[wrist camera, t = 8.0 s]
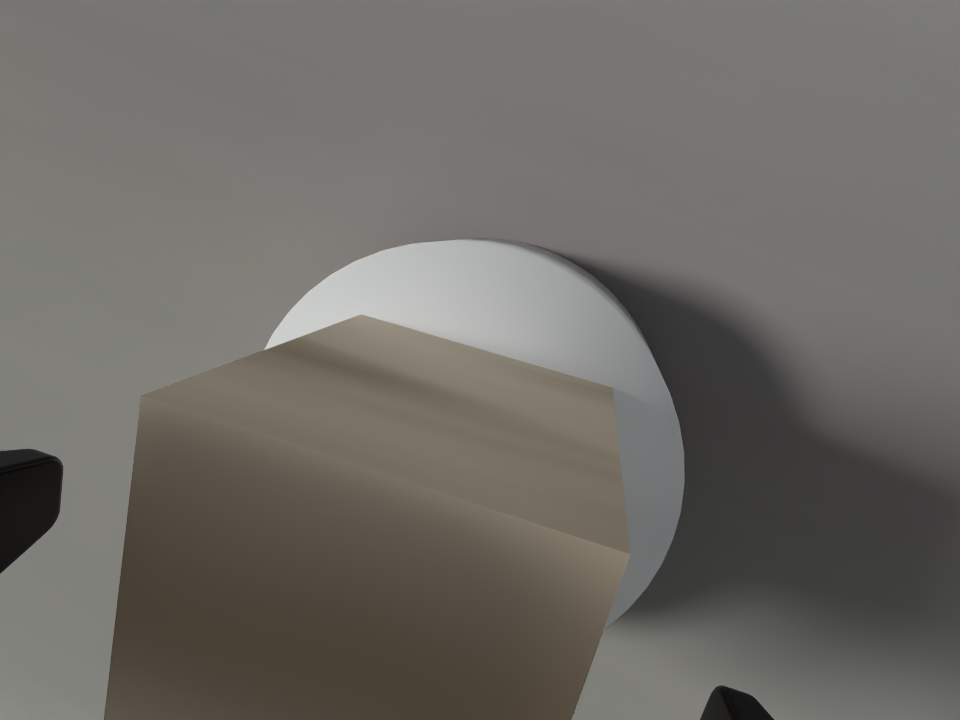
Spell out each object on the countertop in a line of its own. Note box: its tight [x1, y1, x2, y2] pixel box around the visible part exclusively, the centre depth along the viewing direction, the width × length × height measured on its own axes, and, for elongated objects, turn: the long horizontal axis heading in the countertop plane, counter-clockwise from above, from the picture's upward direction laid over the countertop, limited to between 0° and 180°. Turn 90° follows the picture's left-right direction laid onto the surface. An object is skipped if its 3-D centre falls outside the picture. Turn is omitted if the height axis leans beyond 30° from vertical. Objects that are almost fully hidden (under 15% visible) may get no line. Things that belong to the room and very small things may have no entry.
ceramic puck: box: [264, 238, 685, 629], centre depth 14 cm, size 9×9×4 cm
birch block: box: [104, 314, 630, 720], centre depth 9 cm, size 5×5×6 cm
